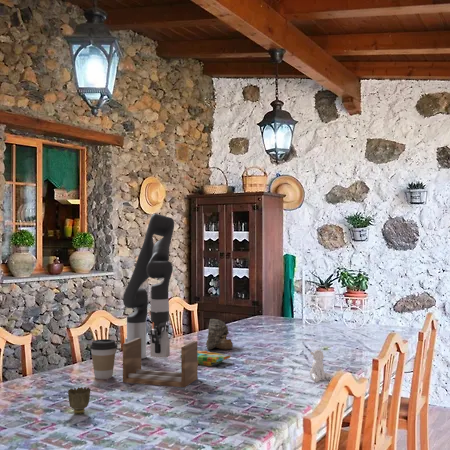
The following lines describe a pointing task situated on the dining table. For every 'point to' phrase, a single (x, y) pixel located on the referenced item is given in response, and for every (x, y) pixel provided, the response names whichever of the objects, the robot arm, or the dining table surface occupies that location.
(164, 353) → the white food carton
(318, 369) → the seated beast figurine
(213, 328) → the rock
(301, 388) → the dining table surface
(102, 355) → the coffee cup
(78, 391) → the cup
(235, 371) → the dining table surface
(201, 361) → the puzzle game
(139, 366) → the wooden rack
